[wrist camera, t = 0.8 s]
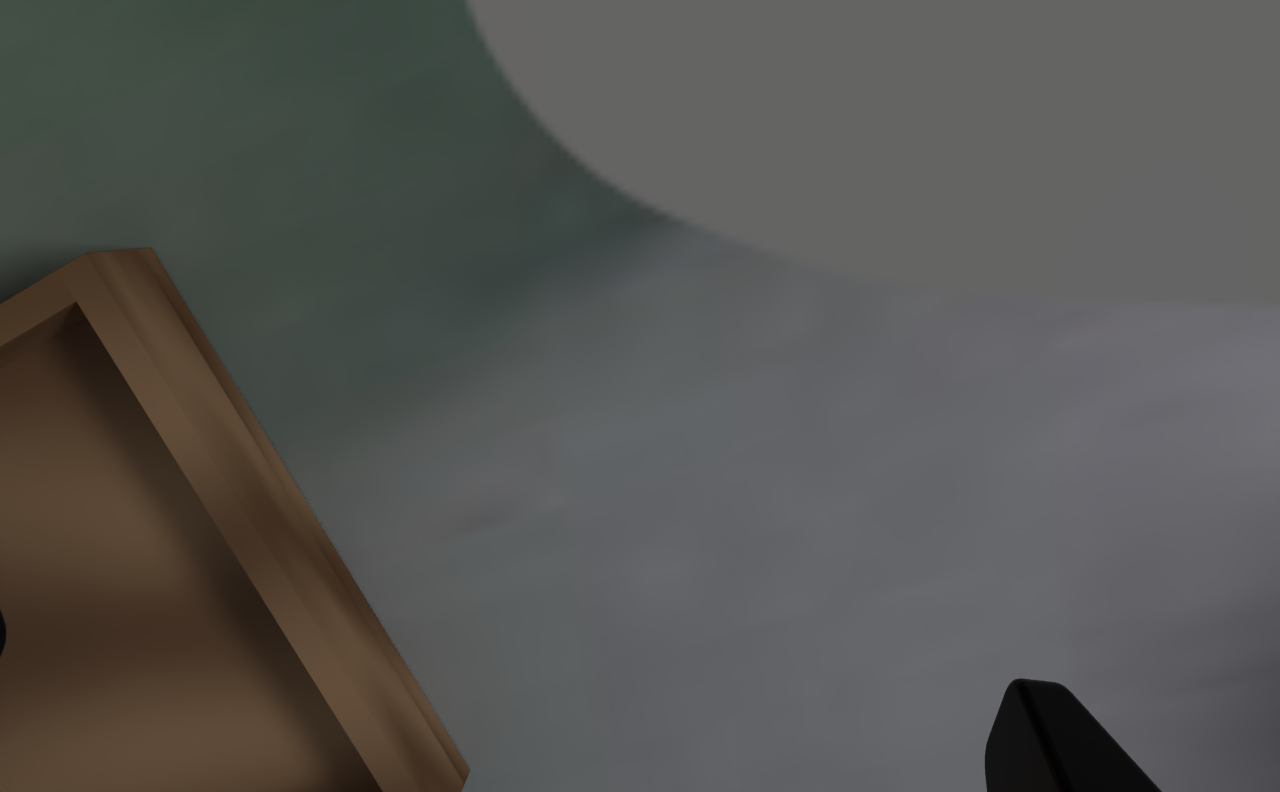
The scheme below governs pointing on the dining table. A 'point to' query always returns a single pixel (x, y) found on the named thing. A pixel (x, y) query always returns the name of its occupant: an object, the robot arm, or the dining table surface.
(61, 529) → the walnut tray
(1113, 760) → the robot arm
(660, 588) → the dining table surface
